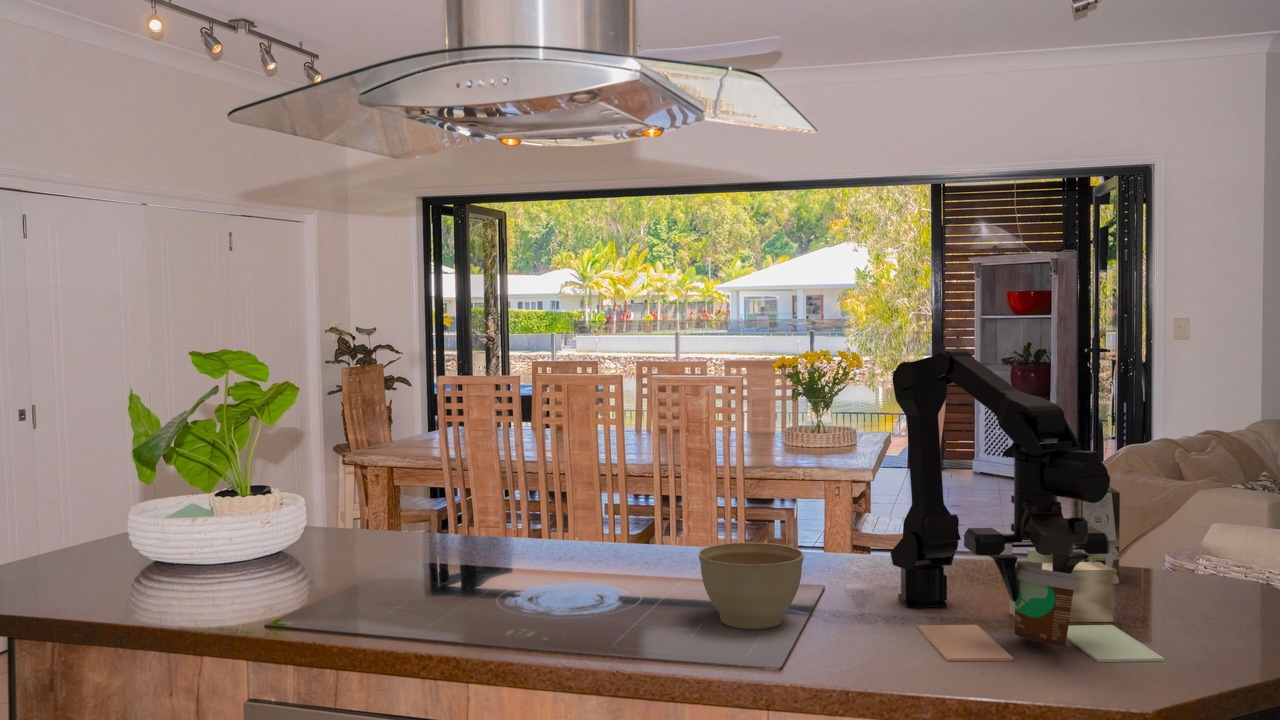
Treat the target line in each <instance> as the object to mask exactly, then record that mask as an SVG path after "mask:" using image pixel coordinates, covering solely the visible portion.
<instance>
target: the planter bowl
mask: <svg viewBox="0 0 1280 720" xmlns="http://www.w3.org/2000/svg"><path fill="white" fill-rule="evenodd" d="M804 557H805V556H804V552H803V551H802V550H801V549H799V548H796V547H793V546H790V545H784V544H779V543H771V542H770V543H769V542H728V543H727V542H726V543H720V544H714V545H710V546H708V547H704V548H702V549H700V550H699V551H698V559H699V562H700V573H701V578H702V582H703V586H704V590H705V591H706V594H707V596H708V598H709V600H710V601H711V604H712V605H713V606H714V608H715V610H717V612H718V613H719V619H720V622H721V623H723V624H724V625H726V626H728V627H732V628H734V629H745V630H761V629H771V628H774V627H777V626H779V625H781V624H782V622H783V619H784V614H785V613H786V612H787V611H788V609H789V608H790V607H791V605H792V602H793V601H794V599H795V597H796V595H797V594H798V593H797V592H798V590H799V587H800V585H801V579H802V578H801V577H802V574H803V573H802V571H803V562H804Z"/></svg>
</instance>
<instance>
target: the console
mask: <svg viewBox="0 0 1280 720" xmlns="http://www.w3.org/2000/svg"><path fill="white" fill-rule="evenodd" d="M1026 555H1027V556H1026V557H1027V560H1026V561H1029V562H1039V563H1042V569H1044V570H1050V571H1053V554H1051V555H1041V554H1039V553H1038V552H1037V551H1036V550H1035V548H1033V549H1032V548H1030V549H1027V554H1026ZM1016 564H1017V562H1016ZM1015 566H1016V565H1015ZM1071 574H1075V575H1076V577H1075V579H1076V590H1074V591H1073V598H1072V605H1071V612H1070V619H1069V623H1102V622H1103V623H1105V622H1106V623H1108V622H1110V623H1111V622H1112V623H1113V622H1114V584H1113V577H1114V570H1113V569H1111V568H1109V567H1107V566H1106V565H1104V564H1102V563H1100V562H1079V563H1078V564H1077V565H1076V566H1075V567H1074V569H1073V571H1072V573H1071ZM1011 614H1012V615H1013V616H1012V615H1011ZM1009 615H1011V616H1012V617H1013V618H1015V602H1013V601H1012V600H1011V599H1010V598H1009Z"/></svg>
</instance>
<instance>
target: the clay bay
mask: <svg viewBox="0 0 1280 720" xmlns="http://www.w3.org/2000/svg"><path fill="white" fill-rule="evenodd" d="M916 629H917V630H918V631H919V632H920V633H921V634H922V636H924V638H925V639H926V640H927V641H928V642H929V643H930V644H931V646H933V648H934V649H935V650H936V651H937V652H938V653H939V654H940V655H941V656H942V658H944V660H945V661H946V662H1000V661H1001V662H1003V661H1005V662H1007V661H1009V662H1010V661H1011V662H1012V661H1014V657H1013V656H1012V655H1011V654H1010V653H1008V652H1007V650H1006V649H1004V648H1003V647H1002V645H1000V644H998V642H997V641H996V640H994V639H993V638H992V637H991V636H990V635H989V634H988V633H987V632H986V631H984V629H982V628H981V627H980V626H979V625H978V624H941V625H939V624H937V625H934V624H933V625H932V624H930V625H927V624H926V625H923V624H922V625H916Z"/></svg>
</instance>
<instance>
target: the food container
mask: <svg viewBox="0 0 1280 720" xmlns="http://www.w3.org/2000/svg"><path fill="white" fill-rule="evenodd" d="M1016 563H1017V564H1016V566H1015V572H1016V586H1017V597H1016V602H1015V617H1014V628H1013V629H1014V631H1013V632H1014V635H1016V636H1018V637H1020V638H1022V639H1026V640H1030V641H1033V642H1036V643H1037V642H1038V643H1042V644H1047V645H1052V646H1059V647H1066V645H1067V632H1068V626H1070V622H1069V619H1070V612H1071V605H1072V598H1073V591H1074V590H1076V579H1075V577H1076V575H1075V574H1068V573H1062V572H1055V571H1050V570H1044V569H1042V563H1039V562H1029V561H1027V560H1025V561H1024V560H1017V562H1016Z"/></svg>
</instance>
